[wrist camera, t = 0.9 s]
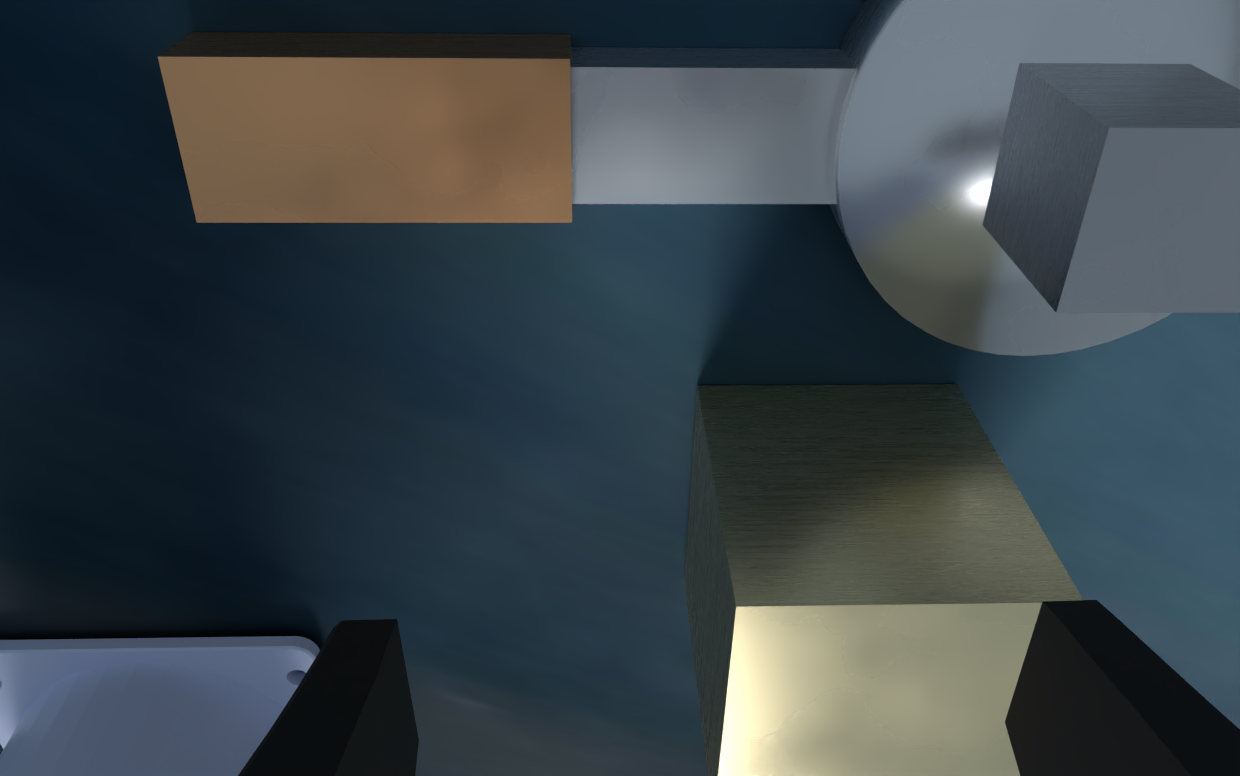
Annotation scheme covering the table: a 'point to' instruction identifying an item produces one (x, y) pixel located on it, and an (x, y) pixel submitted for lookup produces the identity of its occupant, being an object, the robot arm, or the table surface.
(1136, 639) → the robot arm
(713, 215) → the table surface
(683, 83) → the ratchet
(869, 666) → the brushed metal cube
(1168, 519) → the table surface
